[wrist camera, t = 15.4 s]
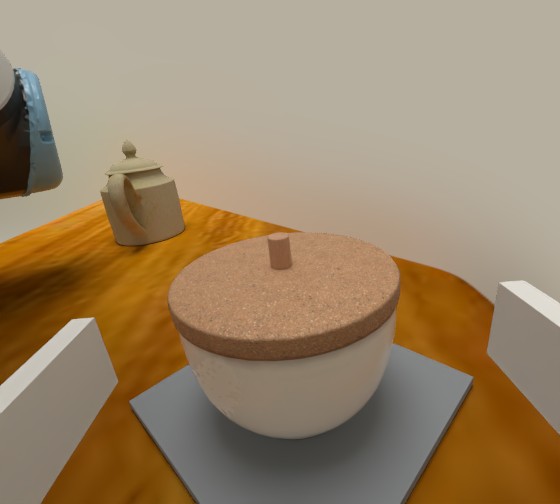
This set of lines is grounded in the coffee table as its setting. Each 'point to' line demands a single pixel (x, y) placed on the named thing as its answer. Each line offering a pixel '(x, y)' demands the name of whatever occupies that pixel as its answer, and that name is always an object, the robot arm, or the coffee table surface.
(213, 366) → the lidded jar
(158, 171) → the beige teapot
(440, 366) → the slate mat
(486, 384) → the coffee table surface
